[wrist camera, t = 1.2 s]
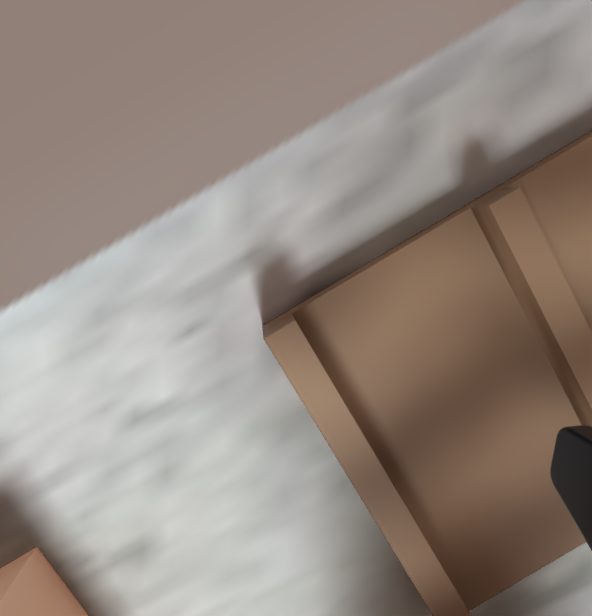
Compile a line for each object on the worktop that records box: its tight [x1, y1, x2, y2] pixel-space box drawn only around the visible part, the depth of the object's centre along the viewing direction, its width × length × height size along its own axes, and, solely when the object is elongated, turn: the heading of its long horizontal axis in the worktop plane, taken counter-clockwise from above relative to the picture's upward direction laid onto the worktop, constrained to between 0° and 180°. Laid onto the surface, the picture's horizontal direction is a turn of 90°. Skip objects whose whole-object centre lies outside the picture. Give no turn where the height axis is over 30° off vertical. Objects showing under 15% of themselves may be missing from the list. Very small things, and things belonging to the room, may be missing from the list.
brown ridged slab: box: [263, 131, 592, 616], centre depth 20 cm, size 14×18×2 cm
